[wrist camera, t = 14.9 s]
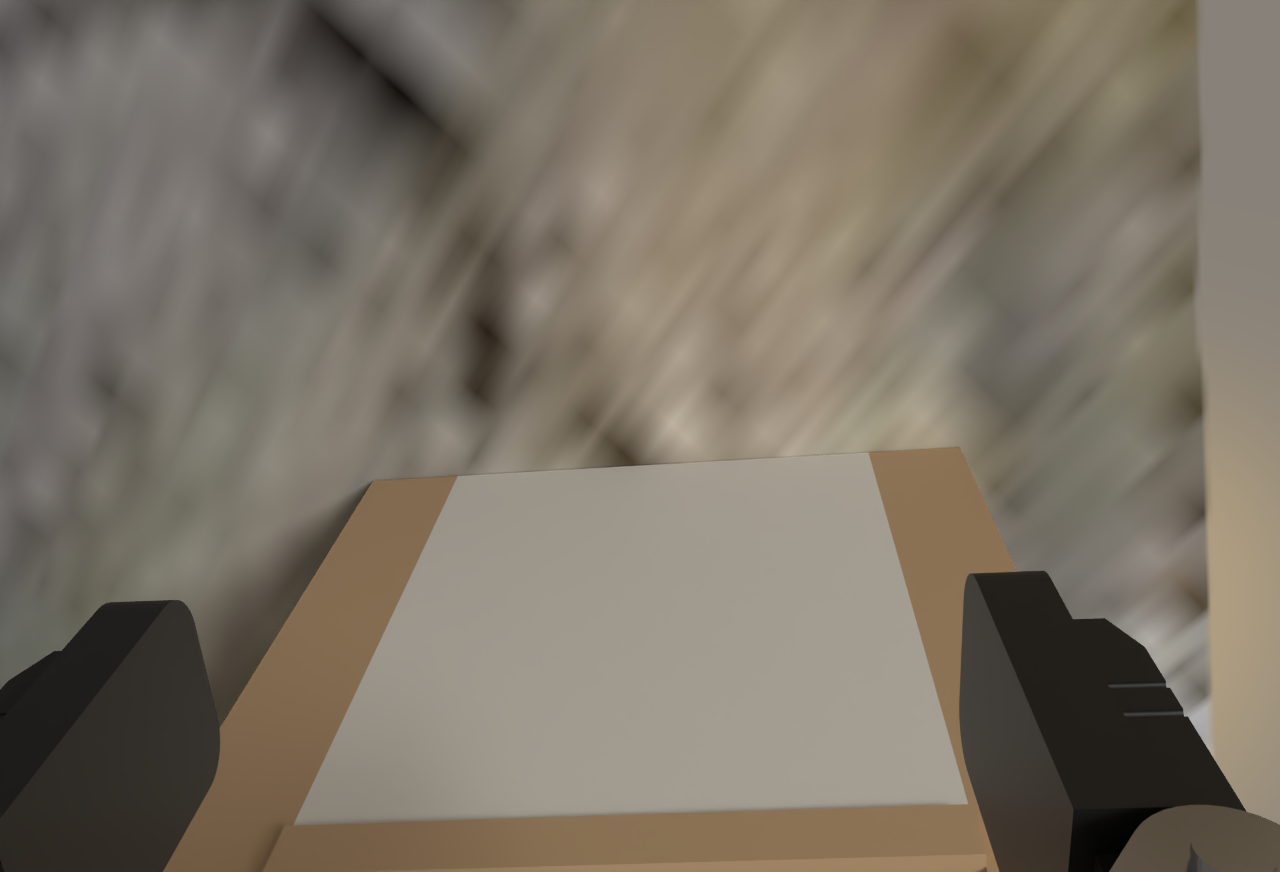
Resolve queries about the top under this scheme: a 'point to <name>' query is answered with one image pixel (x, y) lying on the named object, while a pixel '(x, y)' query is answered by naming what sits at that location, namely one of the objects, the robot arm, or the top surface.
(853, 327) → the top surface
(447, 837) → the headboard panel
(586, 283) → the top surface
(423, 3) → the top surface
